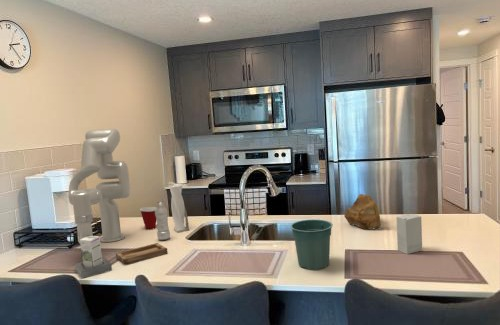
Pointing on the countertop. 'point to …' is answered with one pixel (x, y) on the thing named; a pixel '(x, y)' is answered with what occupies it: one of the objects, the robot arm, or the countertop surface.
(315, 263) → the flower pot
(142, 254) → the wooden tray
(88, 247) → the syrup box
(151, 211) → the plastic cup
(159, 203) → the plastic bottle
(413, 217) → the skincare box
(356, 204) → the rough brown rock
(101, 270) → the socket
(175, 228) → the skyscraper
